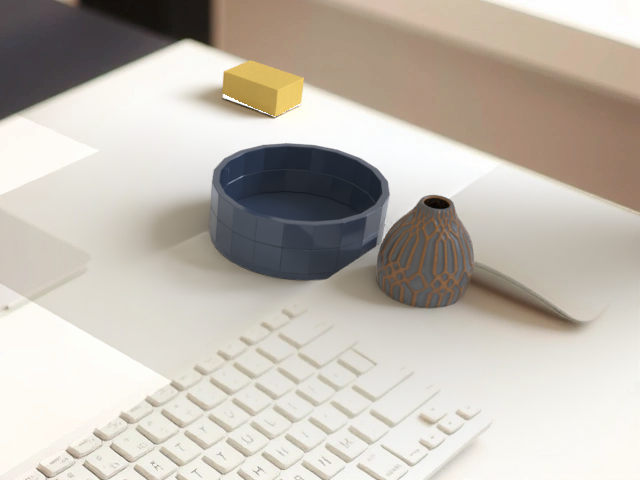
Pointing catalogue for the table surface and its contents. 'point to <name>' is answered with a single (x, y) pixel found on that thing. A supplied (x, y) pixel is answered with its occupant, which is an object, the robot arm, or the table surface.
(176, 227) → the table surface
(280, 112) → the yellow block
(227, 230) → the bowl
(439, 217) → the vase
